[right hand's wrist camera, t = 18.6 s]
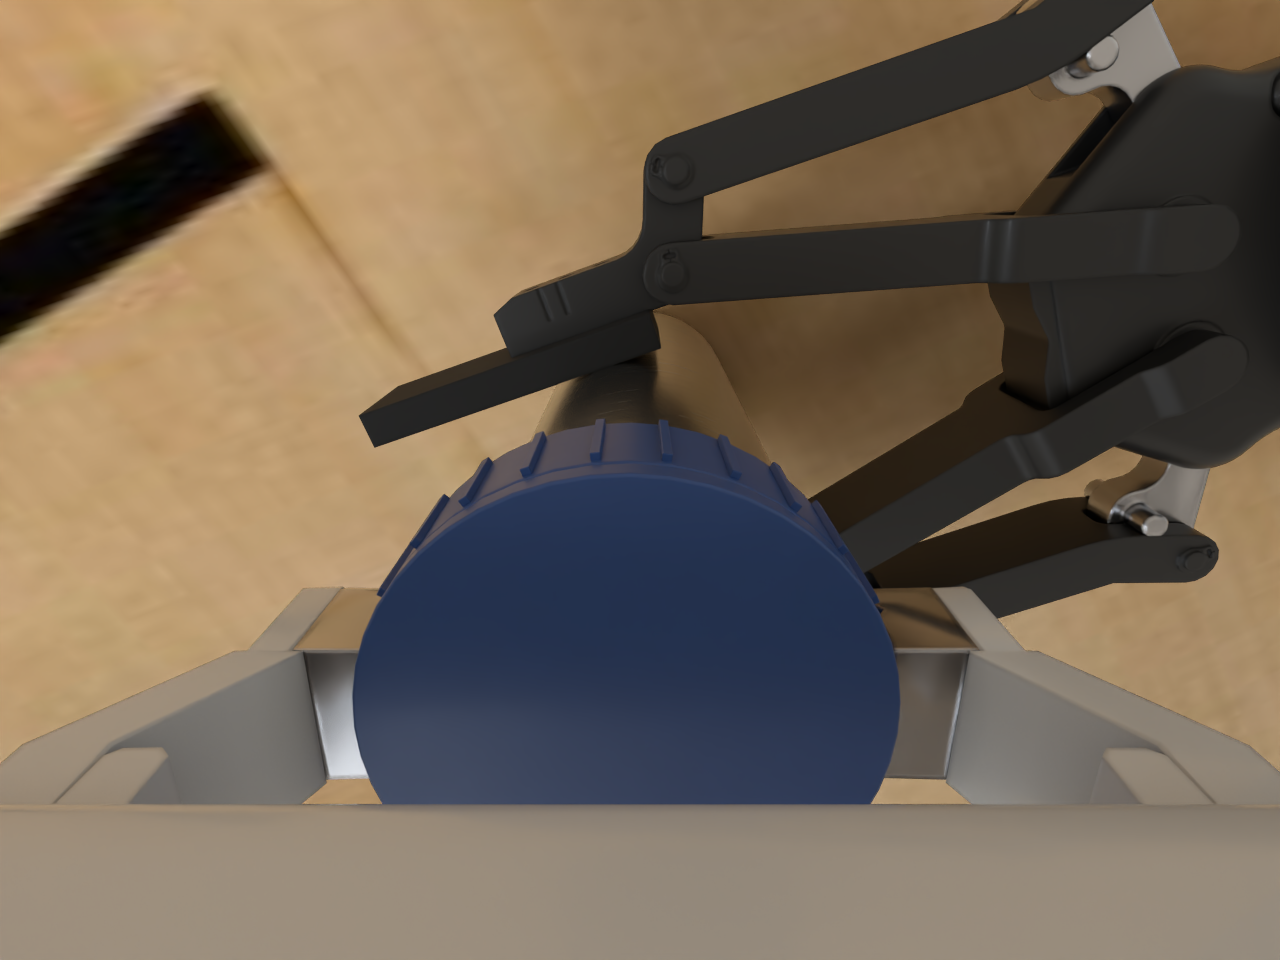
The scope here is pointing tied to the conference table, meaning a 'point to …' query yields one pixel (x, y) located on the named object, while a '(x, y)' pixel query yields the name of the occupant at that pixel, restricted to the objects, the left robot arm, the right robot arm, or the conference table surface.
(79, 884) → the right robot arm
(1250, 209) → the left robot arm
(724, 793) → the lid
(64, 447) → the conference table surface
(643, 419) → the jar
